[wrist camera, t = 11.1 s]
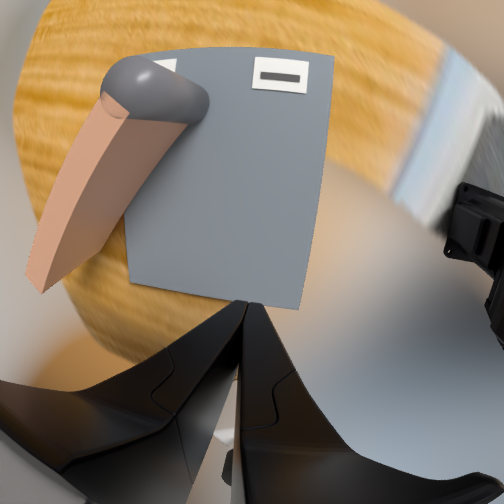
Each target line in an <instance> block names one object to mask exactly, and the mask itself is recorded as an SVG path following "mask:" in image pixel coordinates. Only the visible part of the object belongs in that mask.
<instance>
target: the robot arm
mask: <svg viewBox="0 0 504 504" xmlns="http://www.w3.org/2000/svg"><path fill="white" fill-rule="evenodd" d="M464 187H466V189H465V191H464ZM449 250H450V252H449V253H448V251H449ZM443 252H444V255H445V256H446V257H448V258H452V259H458V260H464V261H469V262H474V263H475V264H477V265H478V266H479V267H480V268H481V269H482V270H484V271H485V272H486V273H487V274H488V275H489V276H490V277H491V278H492V279H493V280H494V282H493V285H492V288H491V291H490V294H489V297H488V298H487V299H486V302H485V305H484V306H485V308H486V311H487V313H488V316H489V319H490V321H491V325H490V327H491V329H492V331H493V332H494V334H495V335H496V337H497V340H498V341H499V343H500V345H501V346H502V349H503V350H504V197H502V196H500V195H497V194H495V193H492V192H490V191H487V190H485V189H482V188H479V187H477V186H474V185H471V184H468V183H465V182H462V183H461V184H460V186H459V191H458V196H457V200H456V205H455V207H454V212H453V216H452V220H451V224H450V228H449V232H448V237H447V240H446V244H445V247H444V251H443ZM238 365H239V366H238ZM237 369H238V377H237V394H236V411H235V429H234V447H233V466H232V486H231V504H488V503H489V502H491V501H493V500H494V499H496V498H497V497H499V496H500V495H501V494H502V493H504V485H503V483H502V482H500V481H499V480H498V479H496V478H494V477H492V476H489V475H486V474H483V473H480V472H473V473H470V474H467V475H464V476H461V477H458V478H455V479H450V480H432V479H426V478H422V477H419V476H415V475H412V474H409V473H406V472H403V471H400V470H397V469H394V468H392V467H389V466H386V465H383V464H381V463H378V462H375V461H373V460H371V459H368V458H366V457H363V456H361V455H359V454H358V453H356V452H355V451H354V450H352V449H351V448H350V447H349V446H348V445H347V444H346V443H345V442H344V440H343V439H342V438H341V437H340V435H339V434H338V433H337V432H336V430H335V429H334V427H333V426H332V425H331V423H330V422H329V421H328V419H327V418H326V417H325V415H324V414H323V413H322V411H321V410H320V409H319V407H318V406H317V404H316V403H315V401H314V400H313V398H312V397H311V396H310V394H309V392H308V391H307V389H306V387H305V386H304V384H303V382H302V380H301V378H300V376H299V374H298V372H297V371H296V369H295V367H294V365H293V363H292V361H291V359H290V357H289V356H288V353H287V351H286V349H285V347H284V345H283V343H282V342H281V339H280V337H279V335H278V334H277V332H276V329H275V327H274V326H273V324H272V322H271V320H270V318H269V316H268V314H267V312H266V310H265V308H264V306H263V304H262V303H256V302H250V303H248V301H243V300H234V301H233V302H231V303H230V304H229V305H227V306H226V307H224V308H223V309H221V310H220V311H218V312H217V313H216V314H214V315H213V316H211V317H210V318H208V319H207V320H205V321H204V322H202V323H201V324H200V325H198V326H197V327H195V328H194V329H192V330H191V331H189V332H188V333H186V334H185V335H183V336H182V337H180V338H179V339H177V340H176V341H174V342H173V343H171V344H170V345H168V346H167V348H164V349H162V350H161V351H159V352H158V353H156V354H154V355H153V356H151V357H149V358H148V359H146V360H145V361H143V362H141V363H139V364H137V365H135V366H133V367H132V368H130V369H128V370H126V371H124V372H122V373H120V374H117V375H115V376H113V377H111V378H109V379H107V380H105V381H103V382H101V383H98V384H96V385H94V386H92V387H89V388H87V389H84V390H80V391H74V392H65V391H57V390H49V389H42V388H36V387H31V386H25V385H20V384H15V383H10V382H6V381H1V380H0V504H185V503H186V501H187V498H188V496H189V494H190V491H191V489H192V485H193V484H194V481H195V479H196V476H197V474H198V471H199V469H200V466H201V464H202V461H203V459H204V456H205V454H206V451H207V449H208V446H209V444H210V441H211V438H212V436H213V433H214V431H215V428H216V425H217V423H218V420H219V418H220V415H221V412H222V410H223V407H224V404H225V402H226V399H227V396H228V394H229V391H230V388H231V386H232V383H233V380H234V377H235V375H236V372H237Z"/></svg>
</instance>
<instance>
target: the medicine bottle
mask: <svg viewBox="0 0 504 504" xmlns="http://www.w3.org/2000/svg"><path fill="white" fill-rule="evenodd" d="M236 394H237V380H235V381H233V383H232V386H231V388H230V391H229V394H228V396H227V399H226V402H225V404H224V407H223V410H222V412H221V415H220V418H219V420H218V423H217V425H216V428H215V431H214V433H213V435H214V436H215V437H216V438H218V439H219V440H220V441H221V442H223V443H224V444H226V445H227V446H228V451H227V455H226V459H225V464H224V468H223V472H222V479H223V480H224V482H225V483H226V484H228V485H230V486H232V466H233V447H234V429H235V411H236Z"/></svg>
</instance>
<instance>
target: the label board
mask: <svg viewBox="0 0 504 504" xmlns="http://www.w3.org/2000/svg"><path fill="white" fill-rule="evenodd" d="M135 56H142V57H144V58H146V59H149V60H151V61H153V62H155V63H157V64H159V65H161V66H163V67H165V68H167V69H169V70H171V71H173V72H175V73H177V74H179V75H181V76H183V77H185V78H187V79H189V80H190V81H192V82H194V83H196V84H198V85H200V86H201V87H203V88H204V89H205V90H206V91H207V93H208V95H209V100H210V104H209V109H208V111H207V113H206V114H205V116H204V117H203V118H202V119H201V120H199V121H198V122H196V123H193V124H188V125H187V127H186V128H185V129H184V130H183V131H182V133H181V134H180V135H179V136H178V138H177V139H176V140H175V141H174V143H173V144H172V145H171V146H170V148H169V149H168V150H167V152H166V153H165V154H164V155H163V157H162V158H161V159H160V161H159V162H158V163H157V165H156V166H155V168H154V169H153V170H152V172H151V173H150V174H149V176H148V177H147V179H146V180H145V181H144V183H143V184H142V186H141V187H140V189H139V190H138V192H137V193H136V195H135V196H134V198H133V199H132V201H131V202H130V204H129V205H128V207H127V208H126V210H125V211H124V220H125V236H126V248H127V259H128V269H129V277H130V282H132V283H137V284H142V285H147V286H152V287H157V288H162V289H167V290H172V291H178V292H183V293H189V294H194V295H200V296H206V297H212V298H218V299H224V300H230V301H234V300H243V301H248V303H250V302H256V303H262V304H263V306H271V307H278V308H285V309H293V310H299V306H300V301H301V297H302V292H303V287H304V282H305V277H306V271H307V266H308V261H309V256H310V250H311V244H312V239H313V233H314V227H315V220H316V214H317V209H318V202H319V196H320V188H321V182H322V175H323V167H324V160H325V152H326V144H327V135H328V126H329V116H330V106H331V95H332V84H333V70H334V56H330V55H324V54H317V53H310V52H303V51H294V50H285V49H273V48H255V47H209V48H191V49H179V50H170V51H161V52H154V53H147V54H141V55H135Z"/></svg>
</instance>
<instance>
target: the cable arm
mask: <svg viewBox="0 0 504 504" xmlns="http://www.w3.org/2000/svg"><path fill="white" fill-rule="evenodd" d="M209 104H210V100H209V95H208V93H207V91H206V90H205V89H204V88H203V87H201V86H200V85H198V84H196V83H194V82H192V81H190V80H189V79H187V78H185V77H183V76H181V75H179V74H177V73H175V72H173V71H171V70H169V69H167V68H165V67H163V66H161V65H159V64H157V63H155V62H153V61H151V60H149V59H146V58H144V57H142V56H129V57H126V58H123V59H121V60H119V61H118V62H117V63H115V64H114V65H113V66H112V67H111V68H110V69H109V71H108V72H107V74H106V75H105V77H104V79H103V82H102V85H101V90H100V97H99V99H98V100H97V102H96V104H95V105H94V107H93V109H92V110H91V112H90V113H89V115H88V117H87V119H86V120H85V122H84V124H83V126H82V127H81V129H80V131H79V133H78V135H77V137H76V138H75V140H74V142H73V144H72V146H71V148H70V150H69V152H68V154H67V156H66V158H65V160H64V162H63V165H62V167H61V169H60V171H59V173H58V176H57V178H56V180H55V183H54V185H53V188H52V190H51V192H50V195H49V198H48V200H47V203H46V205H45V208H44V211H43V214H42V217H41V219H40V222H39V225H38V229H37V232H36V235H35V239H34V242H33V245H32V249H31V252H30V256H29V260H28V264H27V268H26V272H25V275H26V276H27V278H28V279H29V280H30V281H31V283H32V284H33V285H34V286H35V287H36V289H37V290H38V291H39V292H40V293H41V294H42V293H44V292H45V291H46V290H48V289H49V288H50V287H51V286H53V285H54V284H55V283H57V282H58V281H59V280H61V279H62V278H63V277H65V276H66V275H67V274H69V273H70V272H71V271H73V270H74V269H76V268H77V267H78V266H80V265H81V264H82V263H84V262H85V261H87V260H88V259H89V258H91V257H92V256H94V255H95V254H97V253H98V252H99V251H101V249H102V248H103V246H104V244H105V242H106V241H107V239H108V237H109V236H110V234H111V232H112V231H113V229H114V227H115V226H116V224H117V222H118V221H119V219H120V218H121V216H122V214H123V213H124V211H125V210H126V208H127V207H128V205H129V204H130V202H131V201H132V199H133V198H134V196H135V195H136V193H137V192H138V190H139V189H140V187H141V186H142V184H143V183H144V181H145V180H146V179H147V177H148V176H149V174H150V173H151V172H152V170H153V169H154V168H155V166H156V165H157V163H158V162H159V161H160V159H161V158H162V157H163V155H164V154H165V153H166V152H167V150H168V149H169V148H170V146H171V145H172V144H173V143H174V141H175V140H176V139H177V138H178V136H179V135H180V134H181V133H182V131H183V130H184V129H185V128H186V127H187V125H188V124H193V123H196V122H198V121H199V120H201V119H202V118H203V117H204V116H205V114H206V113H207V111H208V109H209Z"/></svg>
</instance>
